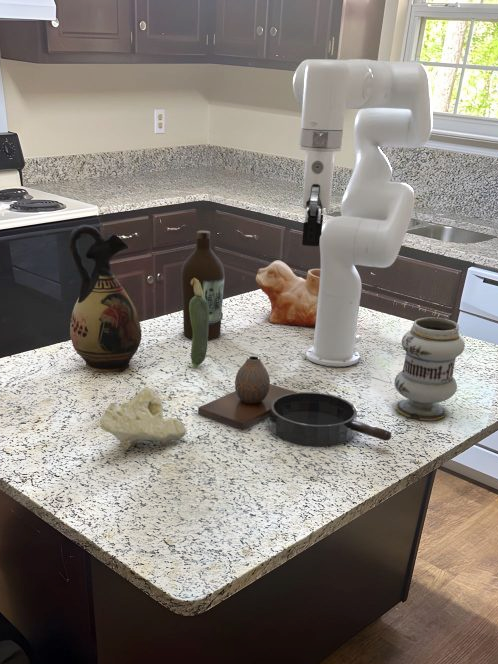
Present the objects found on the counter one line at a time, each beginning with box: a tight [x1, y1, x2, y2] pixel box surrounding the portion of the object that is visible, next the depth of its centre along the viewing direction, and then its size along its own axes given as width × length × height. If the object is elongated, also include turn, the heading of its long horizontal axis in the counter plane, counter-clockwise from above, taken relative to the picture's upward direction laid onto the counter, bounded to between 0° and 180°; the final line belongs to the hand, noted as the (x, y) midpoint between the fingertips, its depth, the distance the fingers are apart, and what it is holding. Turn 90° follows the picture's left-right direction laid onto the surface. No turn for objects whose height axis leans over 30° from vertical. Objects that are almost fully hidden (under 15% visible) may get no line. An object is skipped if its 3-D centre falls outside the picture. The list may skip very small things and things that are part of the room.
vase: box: [234, 355, 271, 404], centre depth 142 cm, size 7×7×9 cm
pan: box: [268, 391, 358, 447], centre depth 136 cm, size 16×16×4 cm
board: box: [197, 383, 297, 431], centre depth 144 cm, size 20×11×2 cm, turn 141°
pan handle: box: [349, 420, 392, 442], centre depth 129 cm, size 2×8×2 cm, turn 51°
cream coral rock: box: [99, 386, 187, 451], centre depth 128 cm, size 15×7×15 cm
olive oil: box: [180, 230, 226, 341], centre depth 178 cm, size 11×11×25 cm
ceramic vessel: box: [255, 259, 321, 329], centre depth 194 cm, size 14×26×15 cm, turn 75°
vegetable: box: [189, 278, 209, 368], centre depth 158 cm, size 4×4×20 cm
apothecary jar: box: [394, 316, 466, 421], centre depth 141 cm, size 12×12×18 cm
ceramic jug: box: [67, 224, 143, 374], centre depth 154 cm, size 17×15×30 cm
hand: (311, 240), depth 138 cm, fingers open, 9 cm apart
